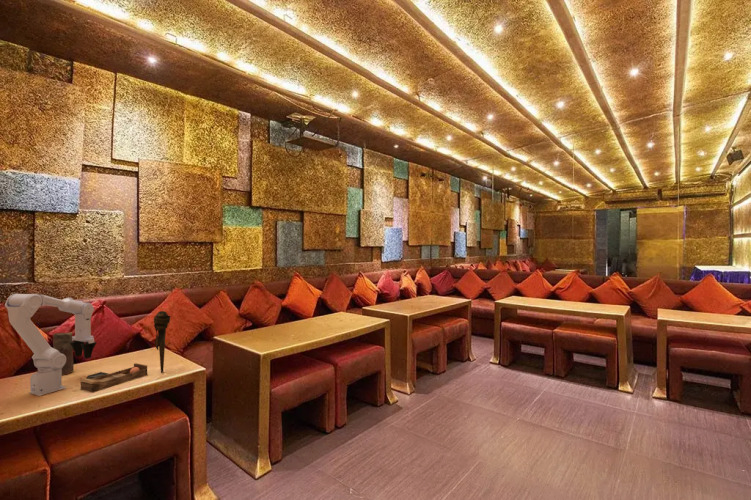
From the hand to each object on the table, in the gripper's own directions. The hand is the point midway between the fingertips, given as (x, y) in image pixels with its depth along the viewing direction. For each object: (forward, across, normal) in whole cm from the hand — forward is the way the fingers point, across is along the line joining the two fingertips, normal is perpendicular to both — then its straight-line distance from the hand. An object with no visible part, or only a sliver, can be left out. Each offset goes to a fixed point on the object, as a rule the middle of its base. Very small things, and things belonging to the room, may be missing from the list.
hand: (83, 357), depth 167 cm
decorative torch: (+10, -27, -20) cm, 35 cm away
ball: (+8, -20, -12) cm, 24 cm away
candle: (+10, +17, 0) cm, 20 cm away
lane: (+10, -19, -3) cm, 22 cm away
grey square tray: (+10, -10, -1) cm, 14 cm away
